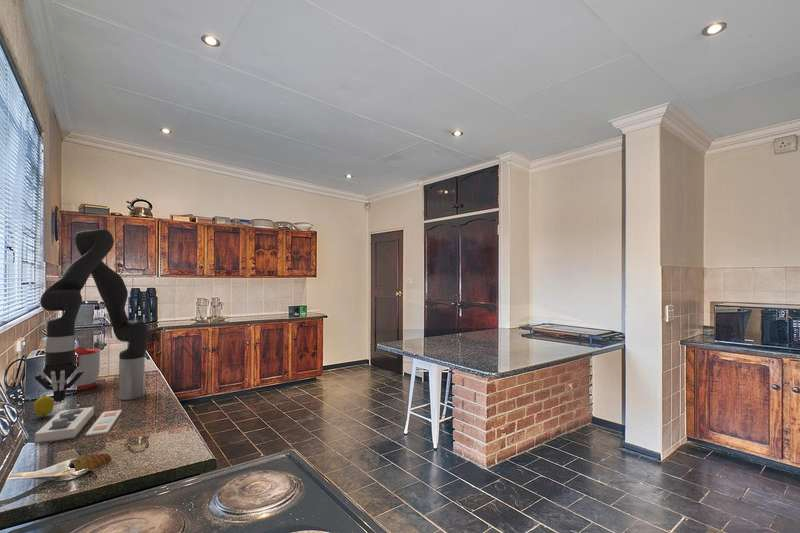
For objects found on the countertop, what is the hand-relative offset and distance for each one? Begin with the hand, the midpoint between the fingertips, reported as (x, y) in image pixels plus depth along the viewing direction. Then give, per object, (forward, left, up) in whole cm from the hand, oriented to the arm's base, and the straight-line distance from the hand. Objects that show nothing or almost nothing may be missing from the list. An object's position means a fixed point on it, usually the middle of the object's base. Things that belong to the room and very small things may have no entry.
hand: (59, 401), depth 132 cm
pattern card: (-11, -7, -11) cm, 18 cm away
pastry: (-15, +31, -12) cm, 36 cm away
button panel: (0, -7, -11) cm, 13 cm away
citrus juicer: (+11, -63, -12) cm, 65 cm away
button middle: (0, -7, -9) cm, 12 cm away
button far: (0, -14, -11) cm, 18 cm away
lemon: (+11, -24, -12) cm, 29 cm away
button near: (0, 0, -9) cm, 9 cm away
